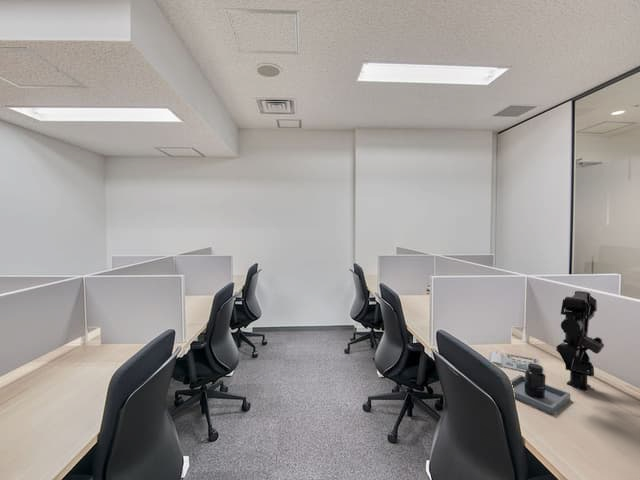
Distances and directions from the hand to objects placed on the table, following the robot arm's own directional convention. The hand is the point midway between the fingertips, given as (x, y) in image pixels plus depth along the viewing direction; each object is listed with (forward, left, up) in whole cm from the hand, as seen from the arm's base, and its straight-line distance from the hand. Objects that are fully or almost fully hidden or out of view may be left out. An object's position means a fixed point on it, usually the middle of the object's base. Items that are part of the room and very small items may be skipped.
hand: (573, 366), depth 117 cm
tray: (+12, -9, -13) cm, 20 cm away
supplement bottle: (+12, -9, -13) cm, 20 cm away
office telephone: (-15, -28, -14) cm, 35 cm away
